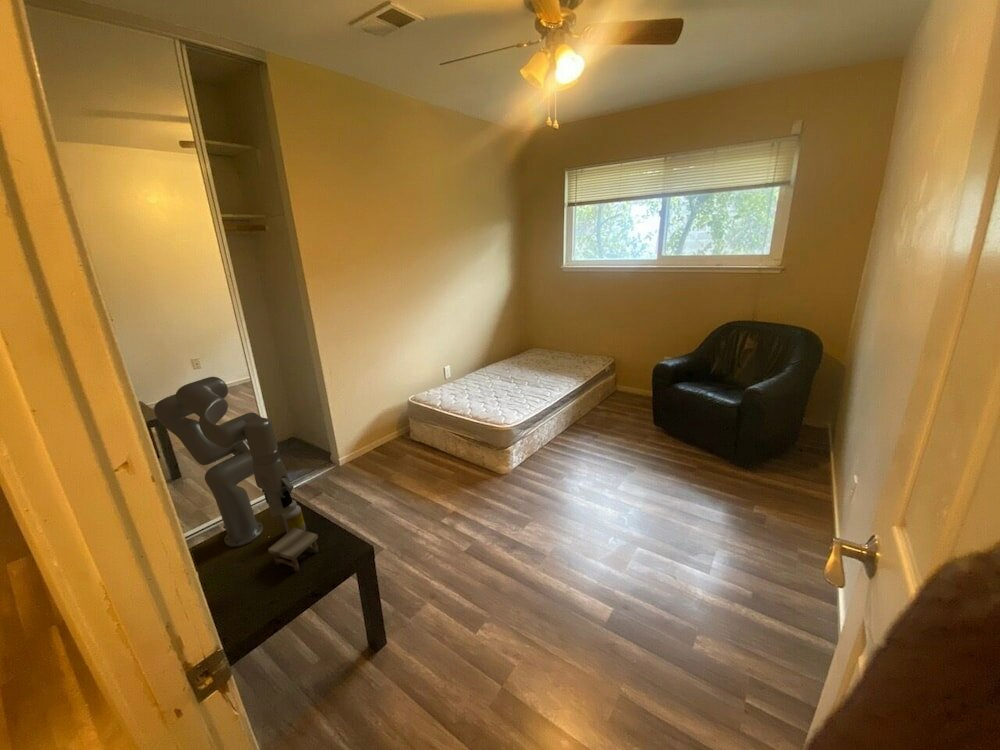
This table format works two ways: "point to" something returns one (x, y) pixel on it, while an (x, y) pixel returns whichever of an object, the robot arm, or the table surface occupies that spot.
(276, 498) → the skincare box
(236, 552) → the table surface
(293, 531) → the stool
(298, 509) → the supplement bottle
